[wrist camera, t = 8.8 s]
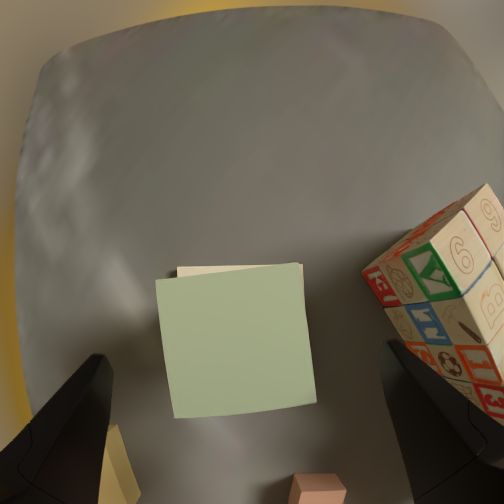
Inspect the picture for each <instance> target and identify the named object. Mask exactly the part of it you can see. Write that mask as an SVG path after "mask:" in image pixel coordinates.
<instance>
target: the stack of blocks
mask: <svg viewBox="0 0 504 504" xmlns="http://www.w3.org/2000/svg"><path fill="white" fill-rule="evenodd" d="M361 273H362V275H363V277H364V278H365V279H366V281H367V282H368V284H369V285H370V287H371V288H372V290H373V291H374V293H375V294H376V296H377V297H378V299H379V300H380V302H381V303H382V305H383V306H384V307H385V308H384V310H385V312H386V314H387V315H388V317H389V318H390V320H391V322H392V323H393V325H394V326H395V328H396V330H397V331H398V333H399V335H400V336H401V338H402V339H403V340H404V342H405V345H406V346H407V348H408V349H409V350H411V351H412V352H413V353H414V354H415V355H417V356H418V357H419V358H420V359H421V360H423V361H424V362H425V363H426V364H427V365H429V366H430V367H431V368H432V369H433V370H435V371H436V372H437V373H438V374H439V375H441V376H442V377H443V378H444V379H445V380H447V381H448V382H449V383H450V384H451V385H453V386H454V387H455V388H456V389H457V390H459V391H460V392H461V393H462V394H463V395H464V396H466V397H467V398H468V400H470V401H472V402H473V403H474V404H475V405H476V406H478V407H479V408H480V409H481V410H483V411H484V412H485V413H486V414H488V415H489V416H490V417H492V418H493V419H495V420H496V421H497V422H499V423H500V424H502V425H503V426H504V209H503V207H502V205H501V204H500V202H499V200H498V199H497V197H496V196H495V194H494V192H493V191H492V189H491V187H490V186H489V185H488V184H487V183H485V184H484V185H482V186H480V187H479V188H477V189H476V190H474V191H472V192H471V193H469V194H468V195H466V196H464V197H463V198H461V199H460V200H458V201H456V202H454V203H452V204H451V205H449V206H447V207H446V208H444V209H442V210H441V211H439V212H438V213H436V214H435V215H433V216H432V217H430V218H429V219H427V220H426V221H424V222H423V223H421V224H419V225H418V226H416V227H415V228H413V229H412V230H411V231H410V232H409V233H407V234H406V235H405V236H404V237H403V238H402V239H400V240H399V241H398V242H397V243H396V244H394V245H393V246H392V247H391V248H389V249H388V250H386V251H385V252H384V253H383V254H381V255H380V256H379V257H378V258H376V259H375V260H374V261H373V262H372V263H370V264H369V265H368V266H367V267H366V268H365V269H364V270H362V272H361Z"/></svg>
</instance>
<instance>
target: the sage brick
mask: <svg viewBox="0 0 504 504" xmlns="http://www.w3.org/2000/svg"><path fill="white" fill-rule="evenodd" d="M155 281H156V292H157V302H158V311H159V320H160V328H161V336H162V344H163V351H164V358H165V365H166V372H167V378H168V384H169V390H170V396H171V401H172V407H173V412H174V418H197V417H212V416H224V415H235V414H244V413H253V412H261V411H268V410H275V409H282V408H288V407H294V406H300V405H306V404H311V403H316V402H317V399H316V390H315V382H314V373H313V365H312V357H311V349H310V341H309V333H308V326H307V319H306V312H305V305H304V298H303V291H302V284H301V277H300V271H299V264H298V262H294V263H286V264H279V265H271V266H264V267H256V268H248V269H241V270H233V271H225V272H217V273H209V274H201V275H193V276H185V277H177V278H168V279H160V280H155Z"/></svg>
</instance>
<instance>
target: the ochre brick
mask: <svg viewBox="0 0 504 504" xmlns="http://www.w3.org/2000/svg"><path fill="white" fill-rule="evenodd" d="M140 495H141V492H140V490H139V487H138V484H137V482H136V479H135V476H134V474H133V471H132V468H131V465H130V462H129V459H128V456H127V453H126V450H125V447H124V444H123V441H122V437H121V434H120V431H119V427H118V424H115V425H109V426H108V432H107V438H106V444H105V451H104V458H103V465H102V472H101V481H100V489H99V499H98V504H136V502H137V500H138V499H139V497H140Z"/></svg>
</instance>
